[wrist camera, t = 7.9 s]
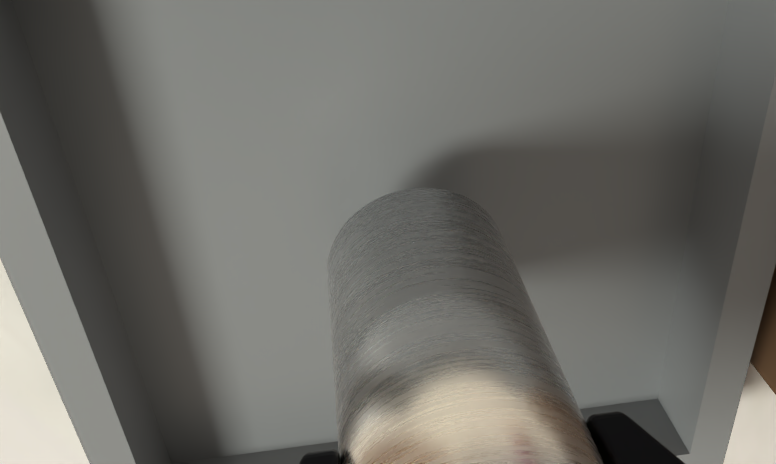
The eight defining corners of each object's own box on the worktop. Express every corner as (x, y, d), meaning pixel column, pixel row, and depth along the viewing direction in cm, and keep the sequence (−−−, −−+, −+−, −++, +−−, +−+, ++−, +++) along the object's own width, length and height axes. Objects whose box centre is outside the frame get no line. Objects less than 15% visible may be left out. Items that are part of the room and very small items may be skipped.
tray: (795, -209, 11) (899, -205, 9) (675, 400, 18) (720, 474, 16) (-77, -131, 10) (-161, -110, 8) (148, 471, 17) (130, 556, 15)
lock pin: (506, 177, 11) (807, 754, 5) (503, 324, 13) (724, 911, 6) (316, 199, 11) (346, 826, 5) (337, 346, 13) (382, 970, 6)
